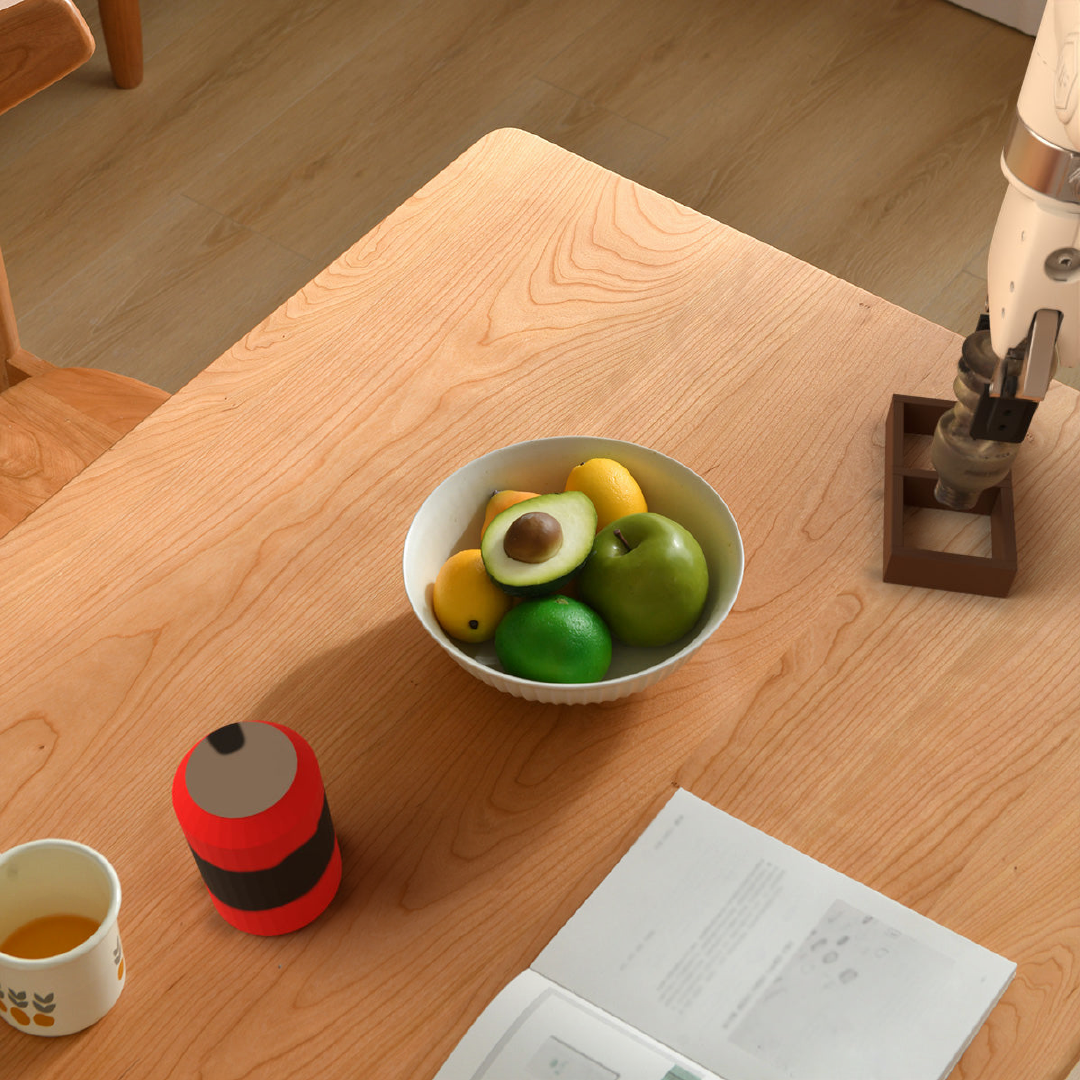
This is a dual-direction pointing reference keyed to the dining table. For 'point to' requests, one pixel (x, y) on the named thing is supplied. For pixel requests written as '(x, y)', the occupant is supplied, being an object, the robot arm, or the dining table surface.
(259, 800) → the soda can
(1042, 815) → the dining table surface
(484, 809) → the dining table surface
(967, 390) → the light bulb
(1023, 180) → the robot arm
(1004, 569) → the socket block
